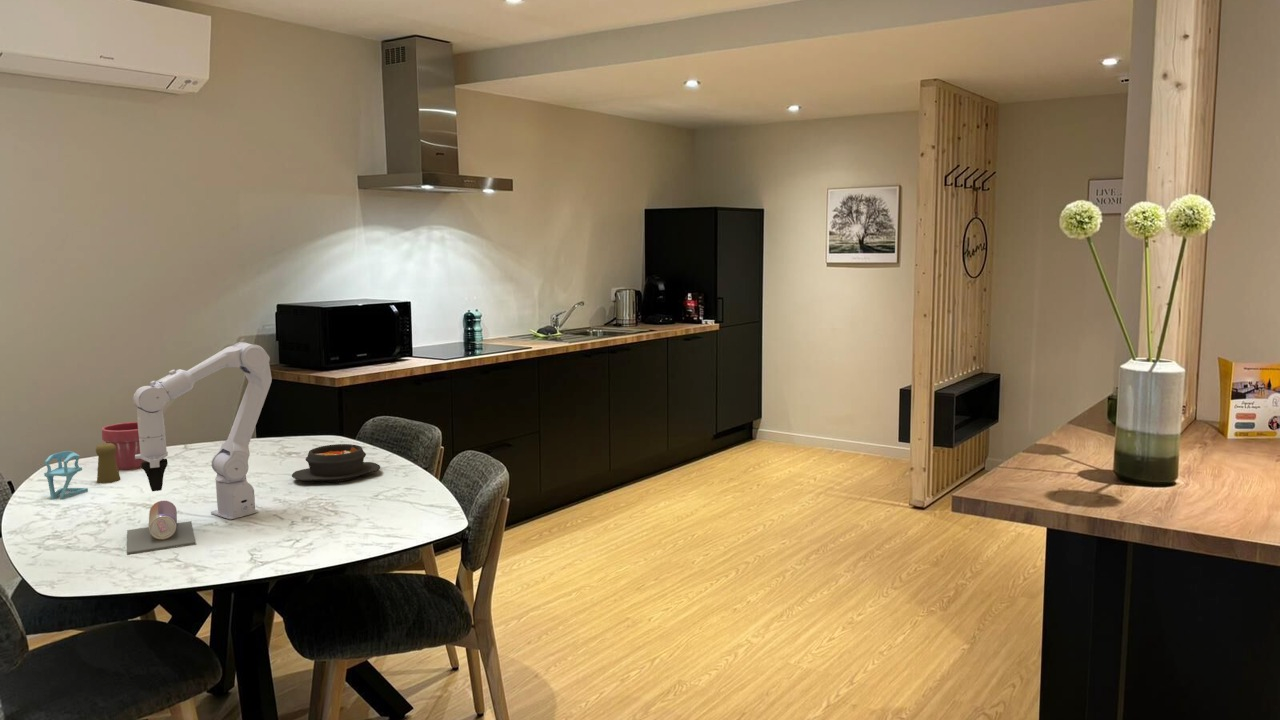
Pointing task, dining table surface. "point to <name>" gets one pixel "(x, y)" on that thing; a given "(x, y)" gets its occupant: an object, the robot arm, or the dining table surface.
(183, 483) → the dining table surface
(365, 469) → the casserole
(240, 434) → the robot arm
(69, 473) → the chair
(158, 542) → the mat
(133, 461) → the plant pot
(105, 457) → the cork
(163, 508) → the beverage can
